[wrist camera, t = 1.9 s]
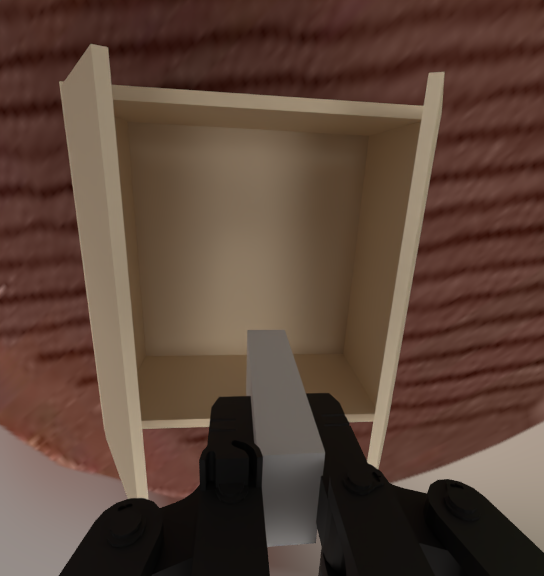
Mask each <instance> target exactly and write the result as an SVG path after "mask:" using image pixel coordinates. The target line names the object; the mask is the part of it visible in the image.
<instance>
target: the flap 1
mask: <svg viewBox="0 0 544 576" xmlns="http://www.w3.org/2000/svg"><path fill="white" fill-rule="evenodd" d="M61 93H62V101H63V109H64V116H65V124H66V132H67V140H68V147H69V155H70V163H71V171H72V178H73V186H74V194H75V202H76V209H77V217H78V225H79V233H80V240H81V248H82V256H83V264H84V271H85V279H86V287H87V294H88V302H89V310H90V318H91V325H92V333H93V341H94V349H95V356H96V364H97V372H98V380H99V387H100V395H101V403H102V411H103V418H104V426H105V434H106V439H107V442H108V445H109V448H110V450H111V453H112V456H113V459H114V462H115V464H116V467H117V470H118V473H119V475H120V478H121V481H122V484H123V487H124V489H125V492H126V494H127V497H128V499H130V498H145V499H148V490H147V479H146V468H145V456H144V445H143V434H142V423H141V411H140V400H139V389H138V378H137V367H136V355H135V344H134V333H133V322H132V311H131V299H130V288H129V277H128V266H127V254H126V243H125V232H124V221H123V210H122V198H121V187H120V176H119V165H118V153H117V142H116V131H115V120H114V109H113V97H112V86H111V75H110V64H109V53H108V47H103V46H99V45H94V44H90V46H89V47H88V48H87V50H86V51H85V53H84V54H83V56H82V57H81V58H80V60H79V61H78V63H77V64H76V66H75V67H74V68H73V70H72V71H71V73H70V74H69V76H68V77H67V78H66V80H65V81H64V83H63V84H62V85H61Z"/></svg>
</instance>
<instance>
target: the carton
mask: <svg viewBox="0 0 544 576" xmlns="http://www.w3.org/2000/svg"><path fill="white" fill-rule="evenodd" d="M63 83H64V82H63V81H59V85H60V92H61V85H62V84H63ZM111 86H112V97H113V109H114V120H115V131H116V142H117V153H118V165H119V176H120V187H121V198H122V210H123V221H124V232H125V243H126V254H127V266H128V277H129V288H130V299H131V311H132V322H133V333H134V344H135V355H136V367H137V378H138V389H139V400H140V411H141V423H142V429H154V428H185V427H209V425H210V415H211V407H212V406H213V404H214V403H215V402H216V400H217V399H218V398H219V397H228V396H246V371H247V330H285V332H286V335H287V338H288V341H289V344H290V347H291V350H292V353H293V356H294V359H295V362H296V365H297V368H298V371H299V374H300V377H301V380H302V384H303V387H304V390H305V393H330V394H331V395H332V396H333V397H334V398H335V399H336V400H337V401H338V402H340V404H341V407H342V409H343V411H344V413H345V416H346V417H347V420H348V422H368V421H374V416H375V410H376V403H377V397H378V391H379V385H380V378H381V372H382V366H383V359H384V353H385V347H386V340H387V334H388V328H389V321H390V315H391V309H392V303H393V296H394V290H395V284H396V277H397V271H398V265H399V258H400V252H401V246H402V240H403V233H404V227H405V221H406V214H407V208H408V202H409V195H410V189H411V183H412V176H413V170H414V164H415V158H416V151H417V145H418V139H419V132H420V126H421V120H422V113H423V107H424V106H415V105H401V104H386V103H371V102H356V101H342V100H327V99H312V98H298V97H283V96H268V95H254V94H239V93H224V92H210V91H195V90H180V89H166V88H151V87H136V86H122V85H111ZM61 100H62V93H61ZM62 108H63V101H62ZM63 115H64V109H63ZM64 123H65V116H64ZM65 131H66V124H65ZM66 138H67V132H66ZM67 146H68V140H67ZM68 154H69V147H68ZM69 162H70V155H69ZM70 169H71V163H70ZM71 177H72V171H71ZM72 185H73V178H72ZM73 192H74V186H73ZM74 200H75V194H74ZM75 208H76V202H75ZM76 215H77V209H76ZM77 223H78V217H77ZM78 231H79V225H78ZM79 239H80V233H79ZM80 246H81V240H80ZM81 254H82V248H81ZM82 262H83V256H82ZM83 269H84V264H83ZM84 277H85V271H84ZM85 285H86V279H85ZM86 292H87V287H86ZM87 300H88V294H87ZM88 308H89V302H88ZM89 316H90V310H89ZM90 323H91V318H90ZM91 331H92V325H91ZM92 339H93V333H92ZM93 346H94V341H93ZM94 354H95V349H94ZM95 362H96V356H95ZM96 369H97V364H96ZM97 377H98V372H97ZM98 385H99V380H98ZM99 393H100V387H99ZM100 400H101V395H100ZM101 408H102V403H101ZM102 416H103V411H102ZM103 423H104V418H103ZM104 430H105V426H104Z"/></svg>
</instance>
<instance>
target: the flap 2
mask: <svg viewBox="0 0 544 576" xmlns="http://www.w3.org/2000/svg"><path fill="white" fill-rule="evenodd" d="M443 86H444V72H435V73H429V76H428V82H427V88H426V95H425V101H424V107H423V113H422V120H421V126H420V132H419V139H418V145H417V151H416V158H415V164H414V170H413V176H412V183H411V189H410V195H409V202H408V208H407V214H406V221H405V227H404V233H403V240H402V246H401V252H400V258H399V265H398V271H397V277H396V284H395V290H394V296H393V303H392V309H391V315H390V321H389V328H388V334H387V340H386V347H385V353H384V359H383V366H382V372H381V378H380V385H379V391H378V397H377V403H376V410H375V416H374V422H373V429H372V435H371V441H370V448H369V454H368V460H367V463H368V464H371V465H373V466H374V467H375V468H377V469H379V464H380V459H381V454H382V449H383V444H384V439H385V434H386V429H387V424H388V418H389V412H390V406H391V401H392V395H393V389H394V383H395V378H396V372H397V366H398V360H399V355H400V349H401V343H402V337H403V332H404V326H405V320H406V314H407V308H408V303H409V297H410V291H411V285H412V280H413V274H414V268H415V262H416V257H417V251H418V245H419V239H420V234H421V228H422V222H423V216H424V211H425V205H426V199H427V193H428V188H429V182H430V176H431V170H432V165H433V159H434V153H435V147H436V142H437V136H438V130H439V124H440V119H441V113H442V100H443Z"/></svg>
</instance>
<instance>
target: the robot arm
mask: <svg viewBox="0 0 544 576" xmlns="http://www.w3.org/2000/svg"><path fill="white" fill-rule="evenodd" d="M199 468H200V485H199V486H198V488H197V489H196V490H195V491H194V492H193V493H192V494H190V495H189V496H187V497H186V498H185V499H182V500H180V501H178V502H176V503H173V504H170V505H168V506H165V507H162V508H159V507H158V506H157V505H156V504H155V503H154V502H153V501H150V500H148V499H145V498H130V499H127V500H124V501H121V502H118V503H116V504H114V505H113V506H111V507H110V508H108V509H107V510H105V511H104V512H103V513H102V514H101V515H100V517H99V518H98V519H97V520H96V521H95V522H94V524H93V525H92V527H91V528H90V530H89V531H88V533H87V534H86V536H85V537H84V539H83V540H82V542H81V543H80V545H79V546H78V548H77V549H76V551H75V552H74V554H73V555H72V557H71V558H70V560H69V561H68V563H67V564H66V566H65V567H64V569H63V570H62V572H61V573H60V575H59V576H270V574H269V562H268V551H267V547H269V546H284V545H298V544H309V543H316V534H317V529H318V533H319V537H320V541H321V546H322V550H321V558H320V566H319V575H318V576H544V553H543V552H542V551H541V550H540V549H539V548H538V547H537V546H536V545H535V544H534V543H533V542H532V541H531V540H530V539H529V538H528V537H527V536H526V535H524V534H523V533H522V532H521V531H520V530H519V529H518V528H517V527H516V526H515V525H514V524H513V523H512V522H511V521H510V520H508V518H507V517H505V516H504V515H503V514H502V513H501V512H500V511H499V510H498V509H497V508H496V507H495V506H494V505H493V504H492V503H491V502H489V500H487V499H486V498H485V497H484V496H483V495H482V494H480V493H479V492H477V491H476V490H475V489H474V488H472V487H470V486H468V485H466V484H463V483H462V482H458V481H454V480H449V479H444V480H437V481H436V482H434V483H432V484H431V485H430V487H429V490H428V493H427V494H426V493H422V492H418V491H413V490H409V489H404V488H401V487H398V486H395V485H392V484H390V483H389V482H388V480H387V479H386V478H385V476H384V475H383V474H382V472H381V471H379V470H378V469H377V468H375V467H374V466H373V465H371V464H368V463H367V460H366V458H365V456H364V454H363V452H362V450H361V447H360V445H359V443H358V441H357V439H356V437H355V435H354V432H353V430H352V428H351V426H349V422H348V420H347V417H346V416H345V413H344V411H343V409H342V407H341V404H340V402H338V401H337V400H336V399H335V398H334V397H333V396H332V395H331V394H330V393H305V390H304V387H303V384H302V380H301V377H300V374H299V371H298V368H297V365H296V362H295V359H294V356H293V353H292V350H291V347H290V344H289V341H288V338H287V335H286V332H285V330H247V371H246V396H228V397H219V398H218V399H217V400H216V402H215V403H214V404H213V406H212V407H211V415H210V425H209V435H208V445H207V447H206V448H205V449H204V450H203V452H202V454H201V457H200V460H199Z"/></svg>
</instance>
